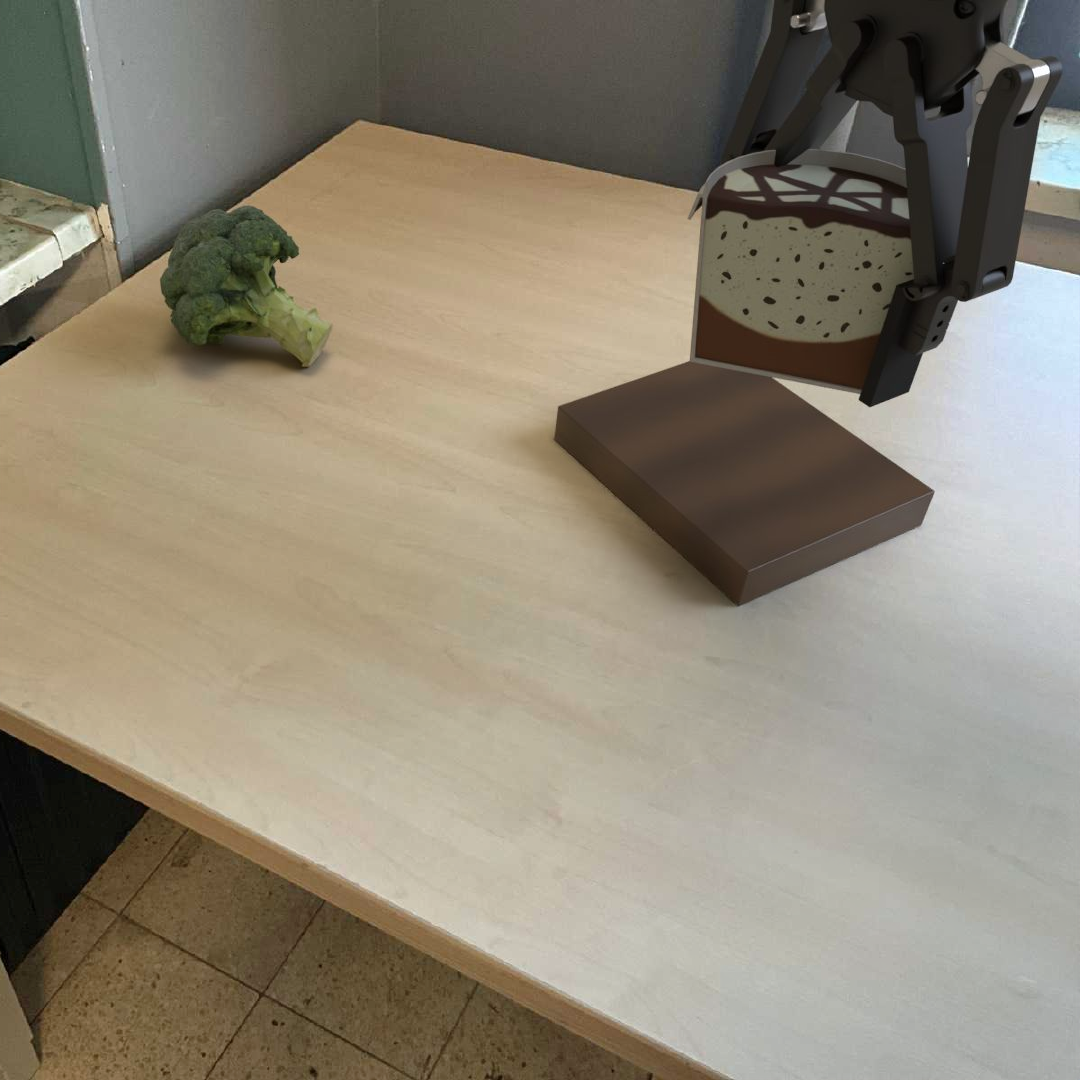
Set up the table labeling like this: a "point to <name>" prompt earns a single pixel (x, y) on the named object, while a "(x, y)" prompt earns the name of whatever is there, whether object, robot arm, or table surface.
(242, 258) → the vegetable
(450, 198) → the table surface
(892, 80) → the robot arm
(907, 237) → the food container
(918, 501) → the board
